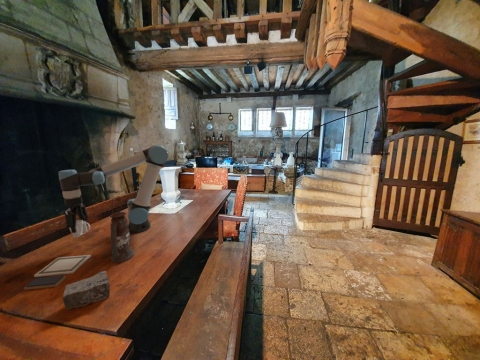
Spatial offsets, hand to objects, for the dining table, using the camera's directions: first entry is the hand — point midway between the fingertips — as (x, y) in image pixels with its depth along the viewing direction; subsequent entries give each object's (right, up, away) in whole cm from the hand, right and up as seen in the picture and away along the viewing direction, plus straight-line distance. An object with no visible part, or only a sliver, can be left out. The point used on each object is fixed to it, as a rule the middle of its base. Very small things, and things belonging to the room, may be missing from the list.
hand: (80, 233), depth 107 cm
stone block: (+33, -17, -32) cm, 49 cm away
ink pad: (+7, -15, -26) cm, 30 cm away
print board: (+4, -12, -14) cm, 19 cm away
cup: (0, -1, 0) cm, 1 cm away
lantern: (+29, -11, -5) cm, 32 cm away
